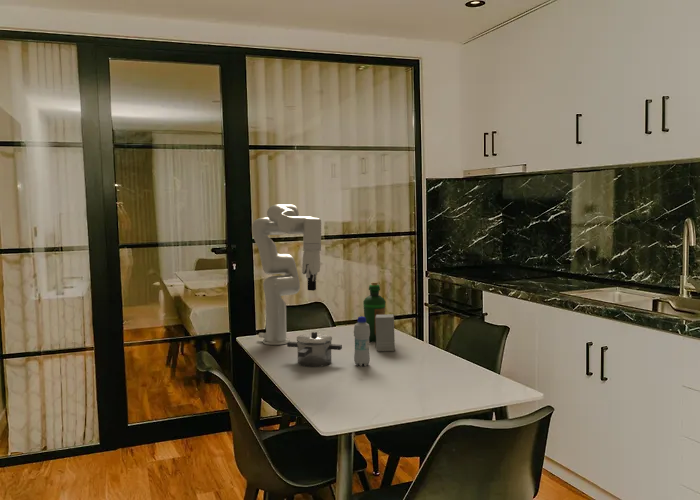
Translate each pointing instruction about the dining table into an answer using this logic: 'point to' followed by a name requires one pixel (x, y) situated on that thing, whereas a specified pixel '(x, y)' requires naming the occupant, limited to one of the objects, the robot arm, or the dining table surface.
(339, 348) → the cooker
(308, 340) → the lid
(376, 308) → the bottle
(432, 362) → the dining table surface
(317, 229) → the robot arm
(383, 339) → the skincare box
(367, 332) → the bottle
